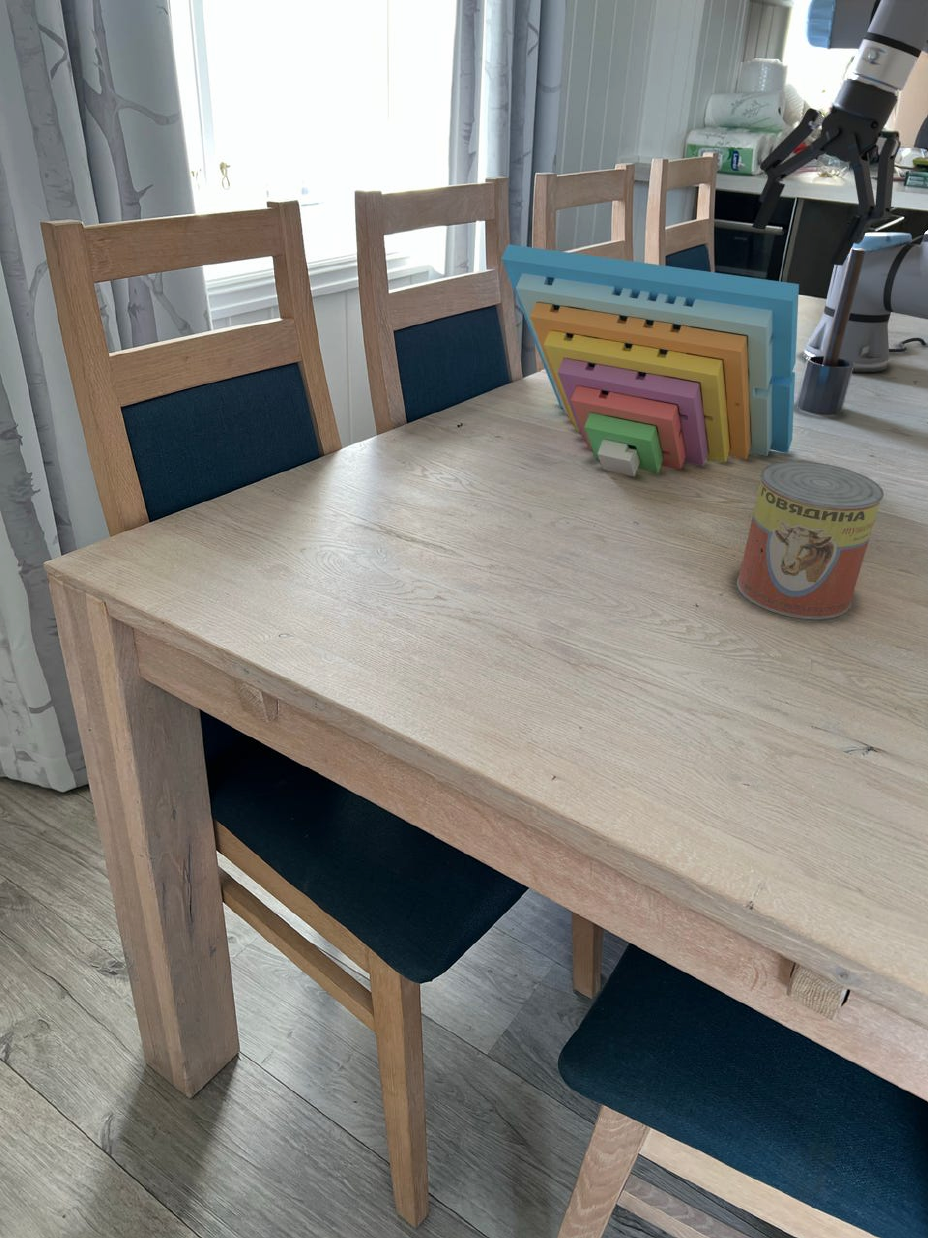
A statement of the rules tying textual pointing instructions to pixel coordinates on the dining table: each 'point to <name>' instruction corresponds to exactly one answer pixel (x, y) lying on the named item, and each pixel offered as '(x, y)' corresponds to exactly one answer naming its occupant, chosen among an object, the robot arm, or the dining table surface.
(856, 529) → the canned food
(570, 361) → the rainbow stepped pyramid
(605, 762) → the dining table surface
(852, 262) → the stick
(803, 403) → the holder
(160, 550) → the dining table surface
